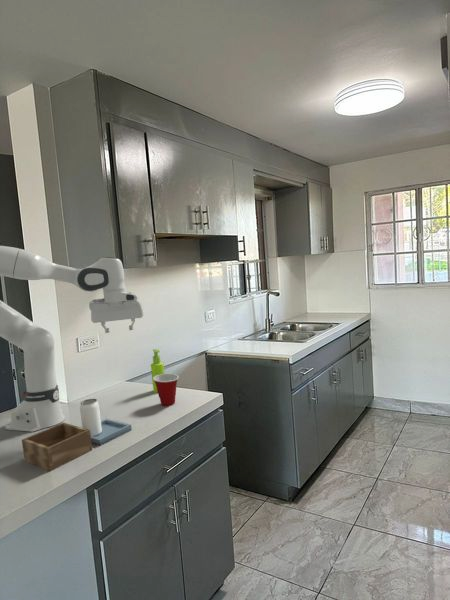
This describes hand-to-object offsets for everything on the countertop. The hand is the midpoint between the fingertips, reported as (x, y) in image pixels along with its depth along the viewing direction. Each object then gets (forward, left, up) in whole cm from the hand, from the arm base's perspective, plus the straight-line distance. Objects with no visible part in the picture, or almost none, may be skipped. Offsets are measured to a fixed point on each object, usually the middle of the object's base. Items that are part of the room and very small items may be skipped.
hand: (119, 331), depth 164 cm
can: (-5, -21, -34) cm, 40 cm away
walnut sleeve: (-9, -36, -34) cm, 50 cm away
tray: (-1, -20, -34) cm, 40 cm away
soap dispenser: (+4, +28, -34) cm, 45 cm away
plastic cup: (+14, +10, -34) cm, 38 cm away
